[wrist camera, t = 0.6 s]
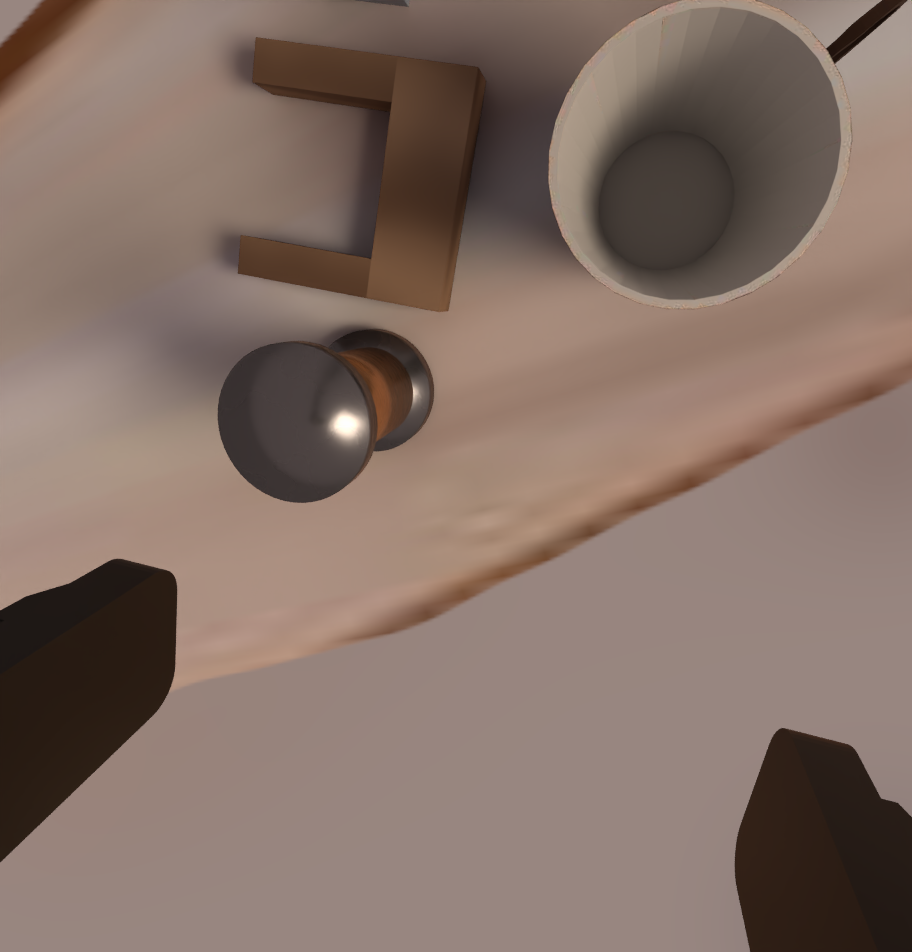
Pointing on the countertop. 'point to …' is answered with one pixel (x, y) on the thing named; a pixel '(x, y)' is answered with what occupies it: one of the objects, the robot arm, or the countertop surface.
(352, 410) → the bobbin
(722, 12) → the coffee mug
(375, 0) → the grey rectangular block
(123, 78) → the countertop surface
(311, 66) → the u-shaped bracket
